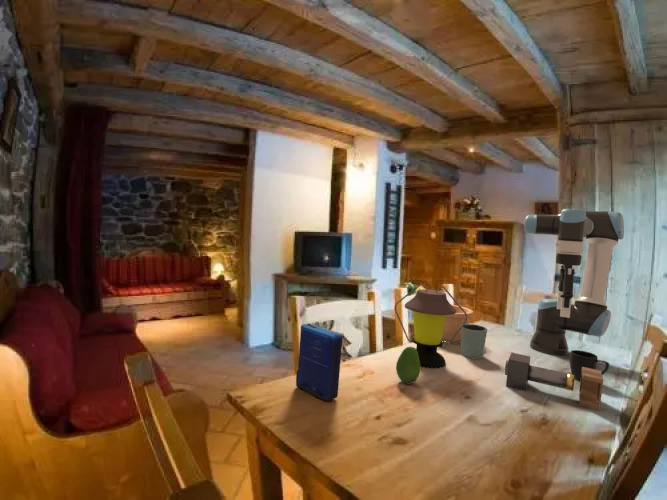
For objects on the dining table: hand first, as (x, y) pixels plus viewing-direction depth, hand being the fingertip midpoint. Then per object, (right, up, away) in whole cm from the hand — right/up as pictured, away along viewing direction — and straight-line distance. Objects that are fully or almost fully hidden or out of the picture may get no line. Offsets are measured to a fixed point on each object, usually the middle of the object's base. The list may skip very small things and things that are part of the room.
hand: (562, 313), depth 135 cm
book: (-86, -21, -21) cm, 91 cm away
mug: (+10, -25, +3) cm, 27 cm away
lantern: (-45, -21, +12) cm, 51 cm away
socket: (-1, -26, -15) cm, 30 cm away
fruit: (-57, -22, -9) cm, 61 cm away
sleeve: (-18, -24, -5) cm, 30 cm away
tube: (-13, -22, -8) cm, 27 cm away
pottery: (-28, -20, +46) cm, 57 cm away
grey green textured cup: (-24, -22, +23) cm, 40 cm away
